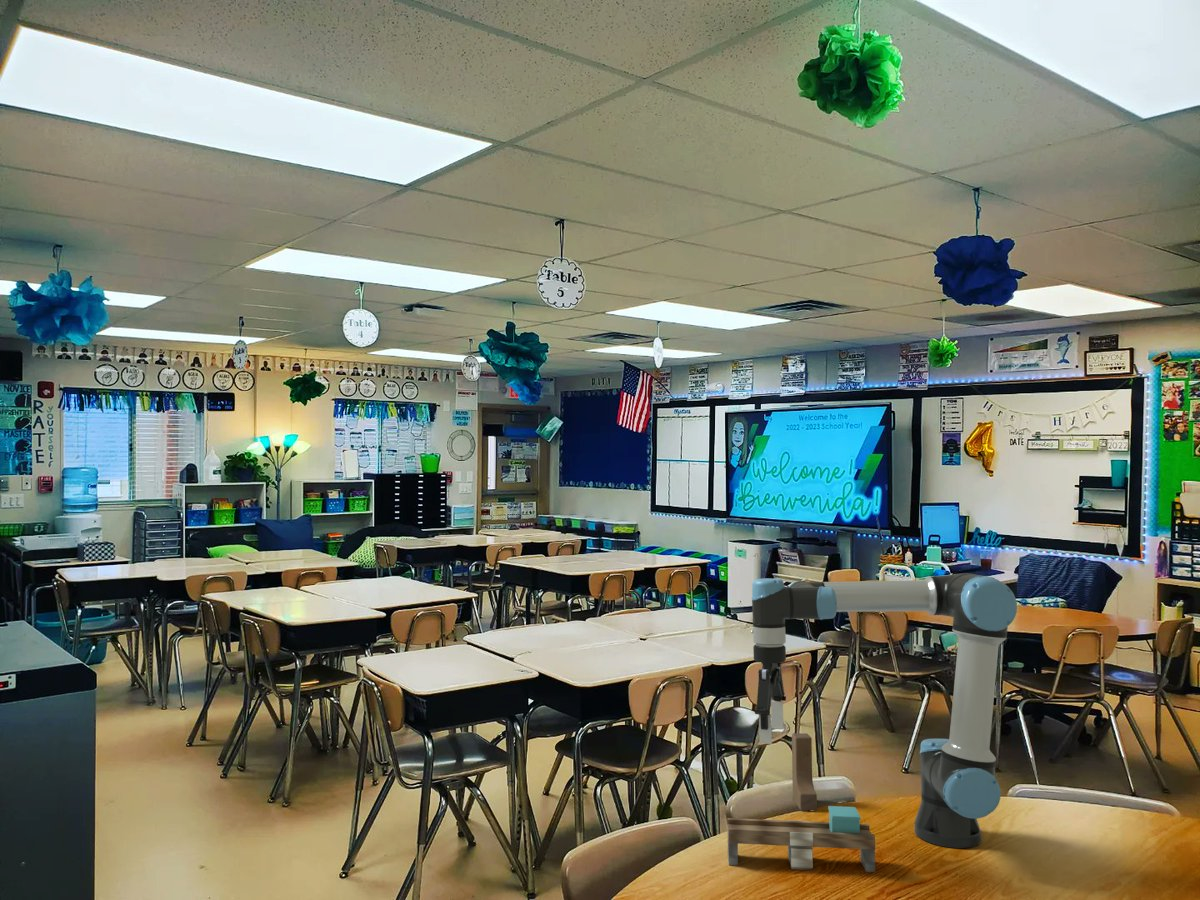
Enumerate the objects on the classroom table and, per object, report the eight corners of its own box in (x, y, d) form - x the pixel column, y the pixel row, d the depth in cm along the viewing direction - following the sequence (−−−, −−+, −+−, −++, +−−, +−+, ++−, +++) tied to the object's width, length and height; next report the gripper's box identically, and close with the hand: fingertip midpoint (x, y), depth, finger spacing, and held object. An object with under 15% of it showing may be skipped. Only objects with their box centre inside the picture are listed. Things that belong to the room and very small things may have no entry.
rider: (855, 827, 194) (855, 807, 194) (860, 838, 187) (860, 817, 188) (828, 826, 194) (828, 806, 195) (833, 837, 188) (832, 816, 188)
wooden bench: (868, 859, 193) (868, 823, 194) (875, 873, 186) (875, 836, 187) (727, 853, 197) (727, 817, 197) (729, 866, 190) (728, 829, 190)
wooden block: (817, 811, 224) (816, 742, 225) (800, 811, 224) (799, 742, 225) (808, 799, 233) (807, 733, 234) (792, 799, 233) (791, 733, 234)
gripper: (764, 636, 214) (767, 721, 212) (741, 652, 191) (743, 748, 189) (794, 637, 211) (797, 724, 209) (774, 653, 188) (777, 751, 186)
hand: (771, 735), depth 199 cm, fingers open, 13 cm apart
